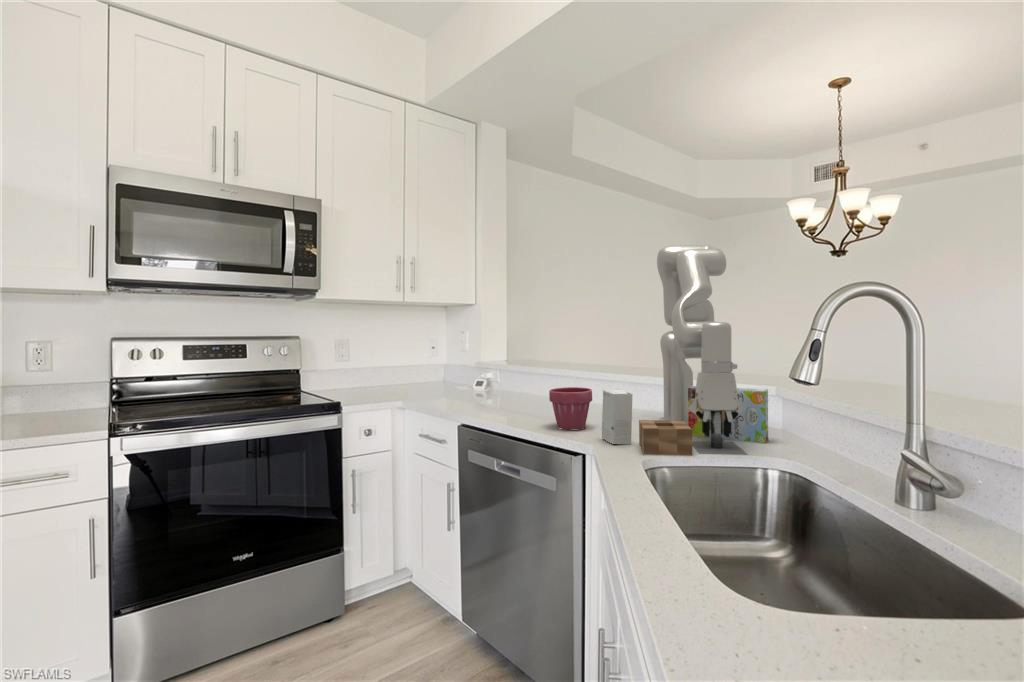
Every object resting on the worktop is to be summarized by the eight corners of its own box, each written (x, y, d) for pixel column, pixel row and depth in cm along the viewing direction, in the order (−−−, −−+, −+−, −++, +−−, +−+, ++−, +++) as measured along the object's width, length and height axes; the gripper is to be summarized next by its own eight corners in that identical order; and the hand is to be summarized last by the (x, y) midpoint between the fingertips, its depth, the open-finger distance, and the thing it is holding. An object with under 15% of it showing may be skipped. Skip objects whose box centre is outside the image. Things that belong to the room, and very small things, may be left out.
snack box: (768, 441, 141) (768, 388, 141) (766, 445, 136) (765, 391, 136) (692, 433, 153) (691, 384, 152) (687, 436, 148) (687, 386, 148)
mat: (688, 442, 141) (688, 441, 141) (732, 443, 139) (732, 441, 139) (698, 455, 127) (698, 453, 127) (748, 456, 125) (748, 454, 125)
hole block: (639, 444, 139) (639, 419, 139) (683, 445, 137) (683, 420, 137) (643, 455, 127) (643, 428, 127) (692, 456, 125) (692, 429, 125)
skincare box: (601, 439, 146) (600, 389, 146) (620, 438, 148) (619, 388, 147) (613, 445, 138) (613, 393, 138) (633, 444, 139) (633, 392, 139)
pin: (709, 446, 134) (709, 409, 134) (721, 446, 134) (720, 409, 134) (712, 448, 131) (711, 411, 131) (724, 448, 131) (723, 411, 131)
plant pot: (541, 426, 166) (540, 389, 165) (573, 422, 174) (572, 385, 173) (568, 434, 154) (568, 393, 154) (601, 428, 162) (601, 389, 161)
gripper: (745, 366, 134) (745, 433, 135) (681, 367, 137) (681, 432, 138) (754, 369, 127) (754, 439, 128) (686, 369, 130) (686, 438, 130)
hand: (716, 435), depth 133 cm, fingers open, 4 cm apart
